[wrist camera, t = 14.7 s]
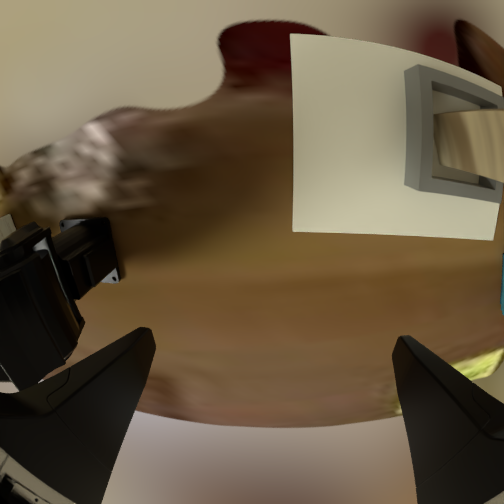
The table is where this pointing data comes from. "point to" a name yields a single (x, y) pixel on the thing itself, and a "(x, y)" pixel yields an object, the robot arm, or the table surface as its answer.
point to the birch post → (471, 141)
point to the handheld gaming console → (502, 289)
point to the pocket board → (383, 142)
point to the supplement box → (6, 226)
